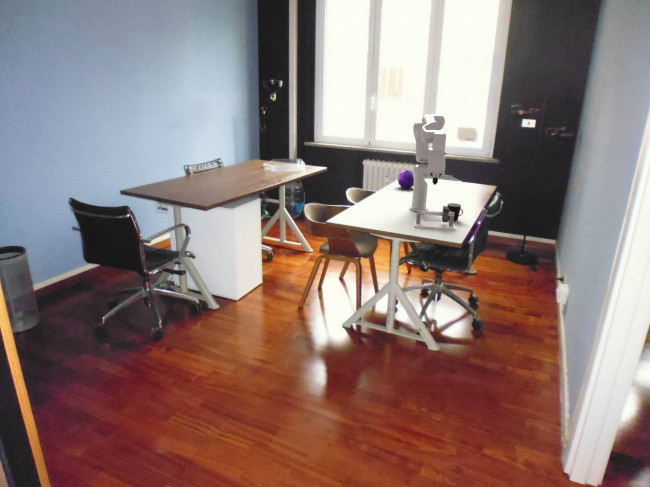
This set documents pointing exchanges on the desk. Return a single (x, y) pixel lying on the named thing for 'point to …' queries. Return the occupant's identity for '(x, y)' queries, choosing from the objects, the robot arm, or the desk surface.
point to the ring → (445, 214)
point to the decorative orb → (406, 179)
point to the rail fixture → (434, 225)
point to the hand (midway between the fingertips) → (434, 184)
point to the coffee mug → (455, 210)
